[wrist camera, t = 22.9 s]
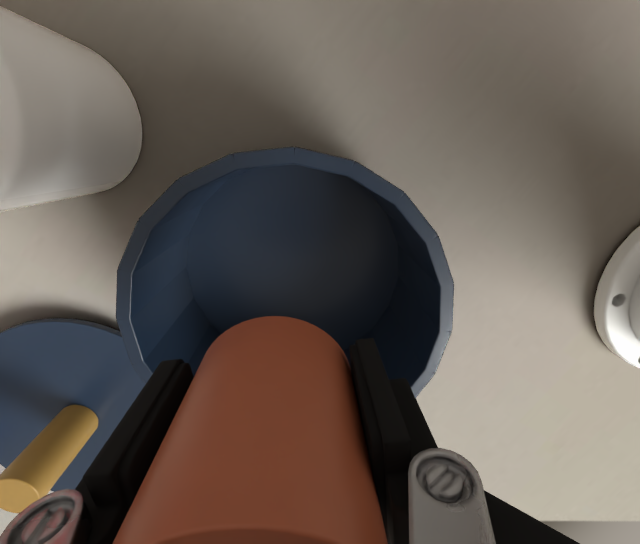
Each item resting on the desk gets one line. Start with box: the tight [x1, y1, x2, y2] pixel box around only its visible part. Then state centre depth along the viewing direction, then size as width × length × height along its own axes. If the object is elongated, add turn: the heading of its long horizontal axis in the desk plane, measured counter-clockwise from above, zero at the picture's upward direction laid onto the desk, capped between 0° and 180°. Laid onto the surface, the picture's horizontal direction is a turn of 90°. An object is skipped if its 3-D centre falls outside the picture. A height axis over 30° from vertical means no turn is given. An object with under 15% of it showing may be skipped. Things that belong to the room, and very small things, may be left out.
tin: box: [116, 147, 454, 398], centre depth 18 cm, size 14×14×8 cm
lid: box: [0, 318, 145, 513], centre depth 21 cm, size 15×15×7 cm
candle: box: [113, 316, 388, 544], centre depth 8 cm, size 5×5×6 cm
